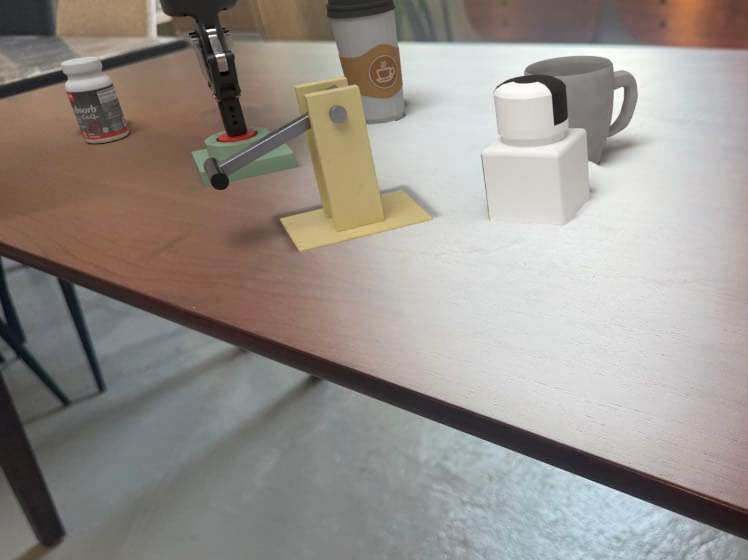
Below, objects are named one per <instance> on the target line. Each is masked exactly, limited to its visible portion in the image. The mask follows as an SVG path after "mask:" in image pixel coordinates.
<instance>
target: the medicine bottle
mask: <svg viewBox="0 0 748 560" xmlns="http://www.w3.org/2000/svg"><path fill="white" fill-rule="evenodd" d="M492 93H493V102H494V112H495V119H496V126H497V127H496V128H497V134H498V136H500V137H498V138H497V139H496V140H494V141H492V142H491V143H490V144H489V145H488V146H486V147H485V148H484V149H482V151H481V152H480V157H481V158H480V159H481V165H482V166H481V167H482V173H483V180H484V181H483V182H484V190H485V198H486V207H487V213H488V219H489V221H490V222H499V223H514V224H528V225H529V224H532V225H545V226H546V225H547V226H548V225H549V226H560V227H561V226H565V225H567V224H568V222H569V221H570V220H571V219H572V218H573V217H574V216H575V215H576V214H577V213H578V211H579V210H580V209H581V208H582V207H583V206H584V205H585V203H586V202H587V201H588V200H589V199H590V198H591V190H590V189H591V188H590V172H589V160H588V152H587V135H586V130H585V129H583V128H568V127H569V123H568V109H567V94H566V85H565V84H564V82H563V81H562V80H560V79H558V78H555V77H553V76H549V75H526V76H524V75H520V76H516V77H512V78H509V79H506V80H504V81H503V82H502V83H499V84H497V86H496V87H495V88H494V90H493V92H492Z"/></svg>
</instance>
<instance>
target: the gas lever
mask: <svg viewBox="0 0 748 560" xmlns="http://www.w3.org/2000/svg"><path fill="white" fill-rule="evenodd" d="M335 88H338V87H337V86H336V85H333V86H331V87H329V88H328V89H326V90H329V89H335ZM310 128H311V124H310V120H309V116H308V112H307V113H305V114H303V115H302V116H301V115H300V116H298V117H296V118H294V119H293V120H291V121H289V122H287V123H286V124H284V125H283V126H280V127H279V128H277V129H275V130H274V131H272V132H270V134H268V135H267V136H265V137H263V138H261V139H260V140H258V141H256V142H254V143H253V144H251V145H249V146H247V147H246V148H244V149H242V150H240V151H239V152H237V153H235V154H234V155H232V156H230V157H228V158H227V159H225V160H223V161H221V162H220V161H219V160H217V159H216V158H208V159H206V160H205V162H204V165H203V167H204V170H205V172H206V174H207V176H208V178H209V181H210V183H211V185H212V186H211V187H212V188H213V189H215V190H217V191H224V190H226V189H227V188H228V187H229V186H230V182H229V178H228V176H229V175H230V174H232V173H234V172H236V171H237V170H239V169H241V168H243V167H244V166H246V165H248V164H250V163H251V162H253V161H255V160H256V159H258V158H260V157H262V156H263V155H265V154H267V153H269V152H270V151H272V150H274V149H276V148H277V147H279V146H281V145H283V144H284V143H286V144H287V143H288V142H290V141H291V140H293V139H295V138H297V137H299V136H301V135H302V134H303V133H305V131H307V130H309V129H310Z"/></svg>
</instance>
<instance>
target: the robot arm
mask: <svg viewBox="0 0 748 560" xmlns="http://www.w3.org/2000/svg"><path fill="white" fill-rule="evenodd" d="M159 4H160V7H161V10H162V12H163V14H164V15H165V16H168V17H171V18H185V17H190V21H191V24H192V29H193V30H192V31H187V37H188V40H189V43H190V47H191V48H192V49H193V50H194V52H195V55H196V58H197V62H198V65H199V68H200V72H201V74H202V76H203V77H204V79H205V80H206V81H207V86H208V88H210V91H211V95H212V98H214V100H215V102H216V104H217V107H218V111H219V114H220V117H221V121H222V125H223V128H224V131H226V133H227V135H228V136H230V137H234V136H239V135H244V134H246V133H247V127H248V126H247V124H246V120H245V119H246V118H245V116H244V113H243V108H242V105H241V101H240V99H241V96H242V94H241V93H242V88H241V86H240V83H239V78H238V77H239V70H238V66H237V62H236V56H235V53H234V51H233V49H234V47H235V46H234V41H233V37H232V33H231V30H230V28H228V29H227V26H226V25H223V26H222V23H221V21H220V18H219V13H220V12H222V11H227V10H231V9H233V8H235V7H236V6H237V5H238V4H239V0H159Z"/></svg>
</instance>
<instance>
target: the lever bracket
mask: <svg viewBox="0 0 748 560" xmlns="http://www.w3.org/2000/svg"><path fill="white" fill-rule="evenodd" d="M333 85H336V86H337V87H338V88H335V89H329V90H326V89H328V88H329V87H331V86H333ZM293 89H294V92H295V97H296V101H297V105H298V109H299V113H300V116H302V115H303V114H305V113H307V112H308V116H309V120H310V124H311V128H310V129H309V130H307V131H305V132H304V134H305V138H306V143H307V147H308V151H309V156H310V160H311V165H312V168H313V172H314V177H315V181H316V185H317V190H318V194H319V198H320V202H321V206H322V208H319V209H315V210H311V211H306V212H303V213H302V212H301V213H297V214H293V215H290V216H285V217H281V218H279V222H280V223H281V225H282V226H283V228H284V230H285V231H286V233H287V234H288V236H289V238H290V239H291V241H292V243H293V244H294V246H295V247H296V249H297V251H298V252H299V253H300V254H301V253H304V252H308V251H309V252H310V251H313V250H317V249H320V248H325V247H328V246H329V247H330V246H333V245H336V244H341V243H344V242H345V243H346V242H350V241H353V240H358V239H361V238H364V237H365V238H366V237H369V236H373V235H377V234H381V233H386V232H390V231H393V230H397V229H401V228H405V227H409V226H414V225H417V224H422V223H425V222H429V221H433V217H432V216H431V215H430V214H429V213H428V212H427V211H426V210H424V208H422V207H421V205H419V204H418V202H416V201H415V200H414V199H413V198H411V196H409V194H408V193H406V192H405V191H404V189H402V190H396V191H392V192H388V193H387V192H386V193H383V194H381V193H380V192H381V191H380V188H379V182H378V177H377V173H376V167H375V163H374V157H373V151H372V146H371V140H370V136H369V131H368V125H367V124H366V121H365V116H364V111H363V106H362V101H361V95H360V90H359V87H358V86H357V85H350V86H348V82H347V78H346V77H344V75H343V76H337V77H332V78H327V79H322V80H315V81H311V82H306V83H301V84H294V85H293Z"/></svg>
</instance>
